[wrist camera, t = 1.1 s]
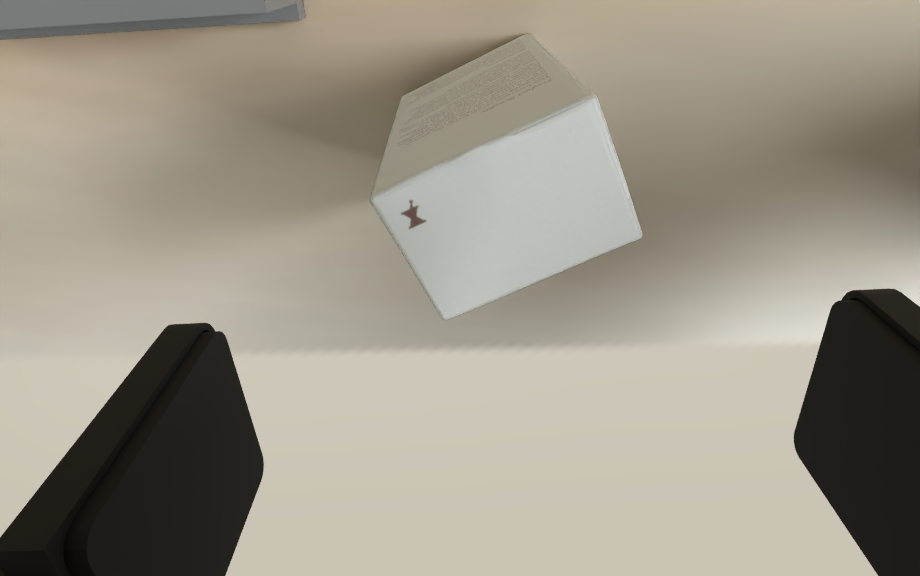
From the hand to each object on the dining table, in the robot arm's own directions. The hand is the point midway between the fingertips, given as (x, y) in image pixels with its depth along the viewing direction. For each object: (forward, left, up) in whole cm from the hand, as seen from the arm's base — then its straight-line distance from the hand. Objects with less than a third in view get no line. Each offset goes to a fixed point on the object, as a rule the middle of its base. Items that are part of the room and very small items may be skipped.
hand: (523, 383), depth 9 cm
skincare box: (0, 0, -19) cm, 19 cm away
